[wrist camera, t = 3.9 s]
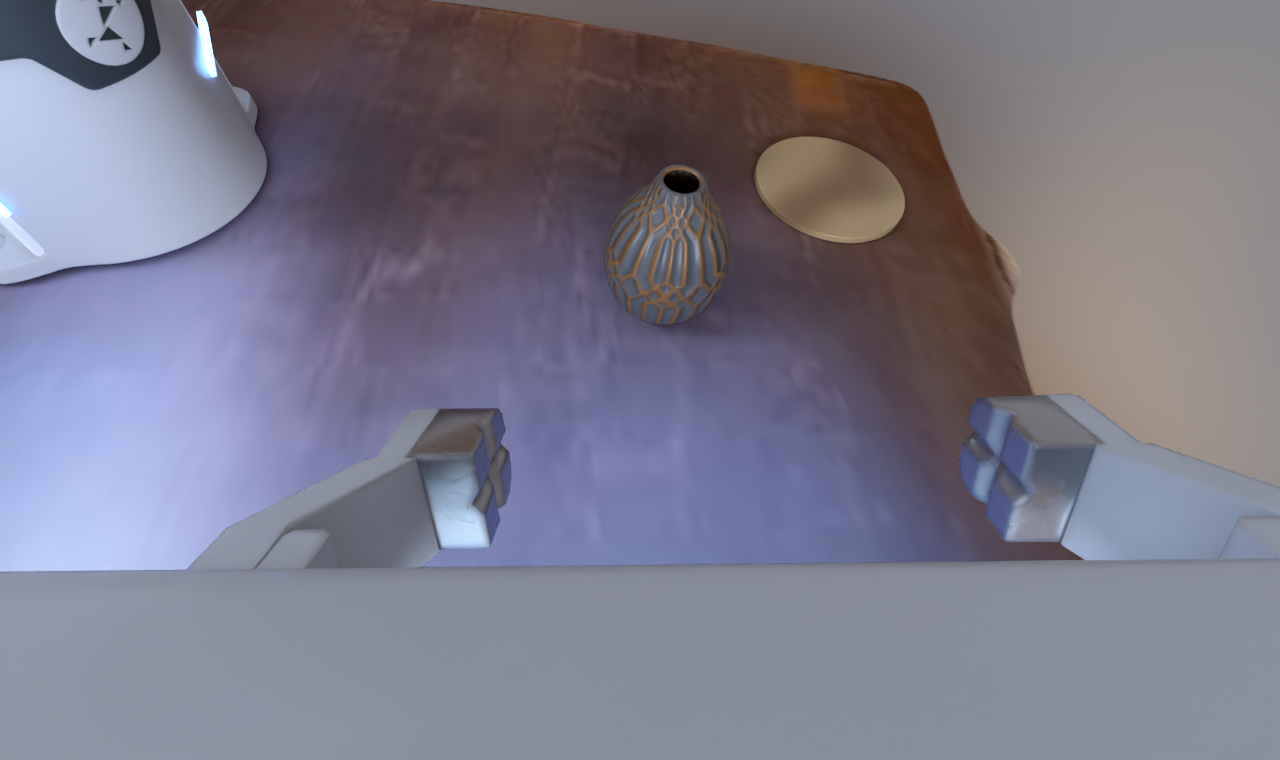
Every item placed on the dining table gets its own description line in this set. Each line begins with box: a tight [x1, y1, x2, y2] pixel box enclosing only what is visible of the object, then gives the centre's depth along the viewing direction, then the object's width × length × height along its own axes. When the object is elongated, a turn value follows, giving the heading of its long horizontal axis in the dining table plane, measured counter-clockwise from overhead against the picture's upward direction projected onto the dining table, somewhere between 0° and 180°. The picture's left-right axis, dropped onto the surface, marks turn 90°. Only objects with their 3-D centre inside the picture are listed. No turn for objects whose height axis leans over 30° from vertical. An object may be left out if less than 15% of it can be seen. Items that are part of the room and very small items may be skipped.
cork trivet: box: [754, 137, 905, 243], centre depth 44 cm, size 11×11×1 cm
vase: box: [604, 165, 730, 325], centre depth 33 cm, size 7×7×9 cm
